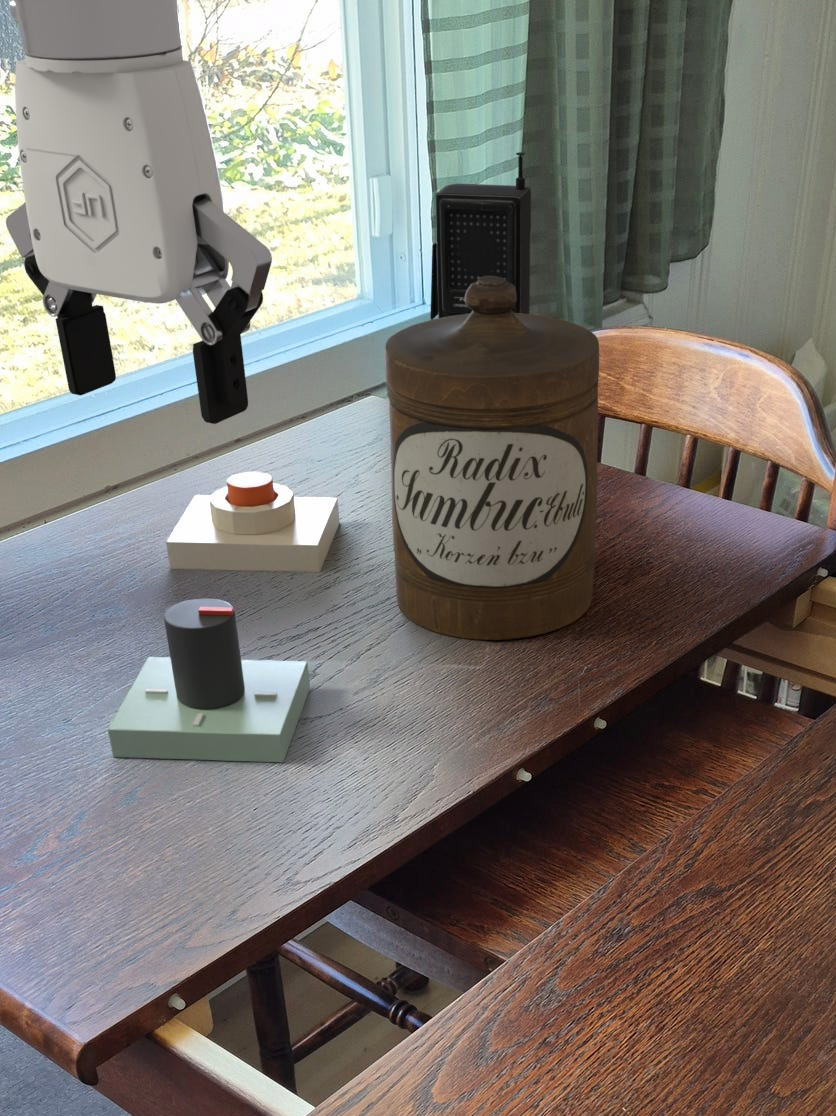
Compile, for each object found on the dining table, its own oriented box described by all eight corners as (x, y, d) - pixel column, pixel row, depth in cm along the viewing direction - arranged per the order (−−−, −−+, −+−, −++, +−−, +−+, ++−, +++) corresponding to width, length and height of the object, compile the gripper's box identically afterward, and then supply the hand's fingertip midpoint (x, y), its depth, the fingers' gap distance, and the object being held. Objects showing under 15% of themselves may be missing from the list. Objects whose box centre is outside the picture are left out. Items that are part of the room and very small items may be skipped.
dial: (169, 708, 91) (154, 622, 88) (185, 676, 95) (172, 592, 91) (237, 710, 91) (225, 624, 87) (251, 678, 94) (240, 594, 91)
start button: (225, 509, 113) (222, 487, 111) (234, 492, 115) (231, 470, 114) (270, 510, 112) (267, 488, 111) (278, 493, 115) (276, 471, 114)
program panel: (112, 757, 91) (106, 727, 89) (152, 683, 98) (147, 654, 97) (283, 763, 90) (280, 732, 89) (310, 688, 98) (307, 658, 96)
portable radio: (428, 491, 125) (416, 160, 108) (446, 467, 129) (437, 145, 113) (516, 498, 123) (518, 163, 107) (531, 473, 128) (534, 148, 111)
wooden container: (386, 641, 103) (367, 308, 88) (406, 557, 114) (392, 249, 100) (592, 644, 102) (607, 309, 88) (593, 560, 113) (606, 250, 99)
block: (169, 569, 113) (161, 519, 110) (198, 520, 120) (191, 472, 118) (320, 572, 112) (315, 522, 109) (339, 523, 120) (336, 475, 117)
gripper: (-86, 26, 69) (-3, 396, 81) (187, 46, 62) (236, 449, 74) (27, 10, 74) (91, 361, 85) (292, 27, 67) (323, 408, 78)
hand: (158, 402), depth 79 cm, fingers open, 9 cm apart
